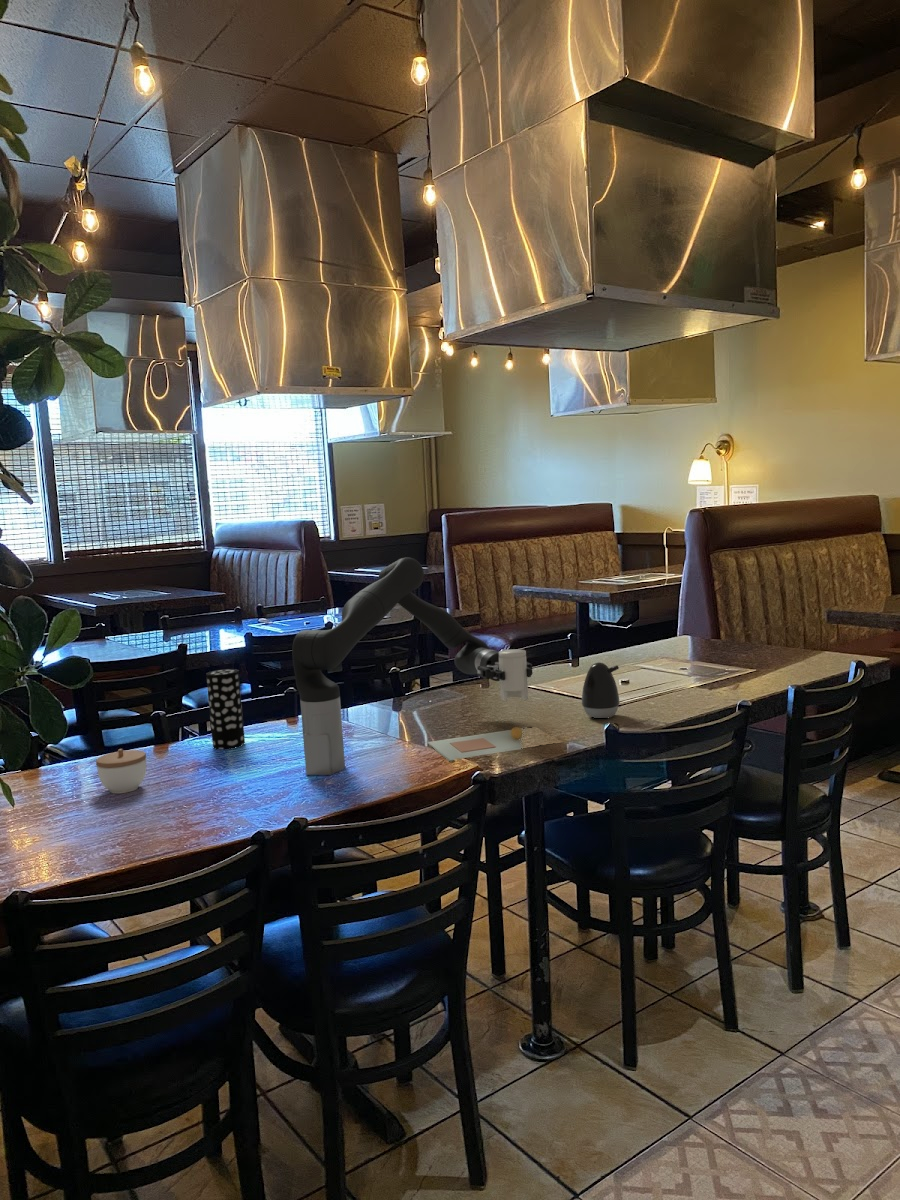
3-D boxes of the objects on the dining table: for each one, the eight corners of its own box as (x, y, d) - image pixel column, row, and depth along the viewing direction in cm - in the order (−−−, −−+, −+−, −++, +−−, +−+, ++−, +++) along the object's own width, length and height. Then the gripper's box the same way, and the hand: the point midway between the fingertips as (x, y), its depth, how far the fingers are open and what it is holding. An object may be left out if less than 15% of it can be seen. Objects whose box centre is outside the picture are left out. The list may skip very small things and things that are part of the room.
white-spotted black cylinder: (250, 741, 236) (244, 668, 234) (235, 750, 228) (228, 675, 226) (223, 741, 238) (216, 669, 236) (207, 749, 230) (200, 675, 228)
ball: (521, 740, 219) (521, 728, 218) (510, 740, 219) (509, 728, 219) (523, 737, 222) (522, 725, 221) (511, 737, 222) (511, 725, 222)
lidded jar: (91, 791, 200) (87, 751, 199) (136, 779, 207) (132, 740, 206) (111, 800, 192) (107, 759, 191) (157, 787, 200) (153, 747, 199)
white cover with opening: (532, 700, 217) (530, 652, 216) (506, 703, 215) (504, 654, 214) (521, 695, 223) (519, 648, 222) (496, 698, 221) (494, 651, 220)
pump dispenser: (618, 722, 233) (615, 666, 231) (579, 721, 236) (576, 666, 235) (623, 712, 242) (621, 659, 241) (586, 712, 246) (583, 659, 244)
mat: (535, 728, 232) (535, 725, 232) (564, 744, 215) (564, 741, 215) (427, 743, 222) (427, 741, 222) (449, 762, 205) (449, 759, 205)
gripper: (466, 653, 229) (489, 662, 214) (517, 648, 234) (542, 656, 218) (467, 681, 230) (490, 692, 214) (518, 675, 235) (544, 686, 219)
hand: (516, 674), depth 216 cm, fingers closed on white cover with opening, 6 cm apart
